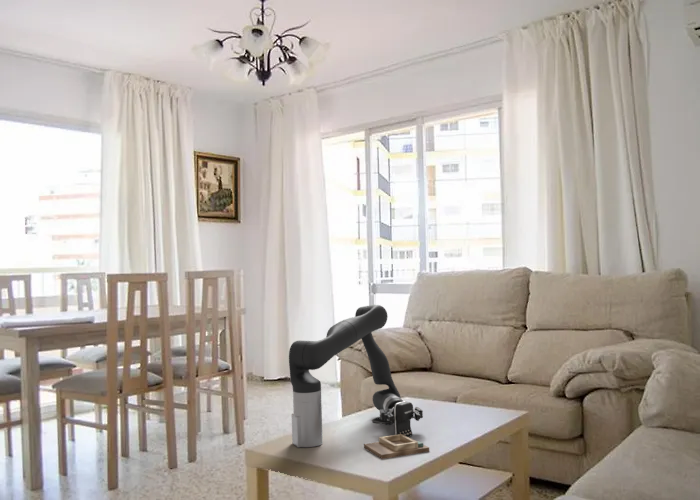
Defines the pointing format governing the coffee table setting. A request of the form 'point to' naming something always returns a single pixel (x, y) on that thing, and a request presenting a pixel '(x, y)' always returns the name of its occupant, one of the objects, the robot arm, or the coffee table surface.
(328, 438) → the coffee table surface
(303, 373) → the robot arm
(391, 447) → the board
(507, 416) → the coffee table surface
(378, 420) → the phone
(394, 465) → the coffee table surface
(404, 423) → the battery charger
